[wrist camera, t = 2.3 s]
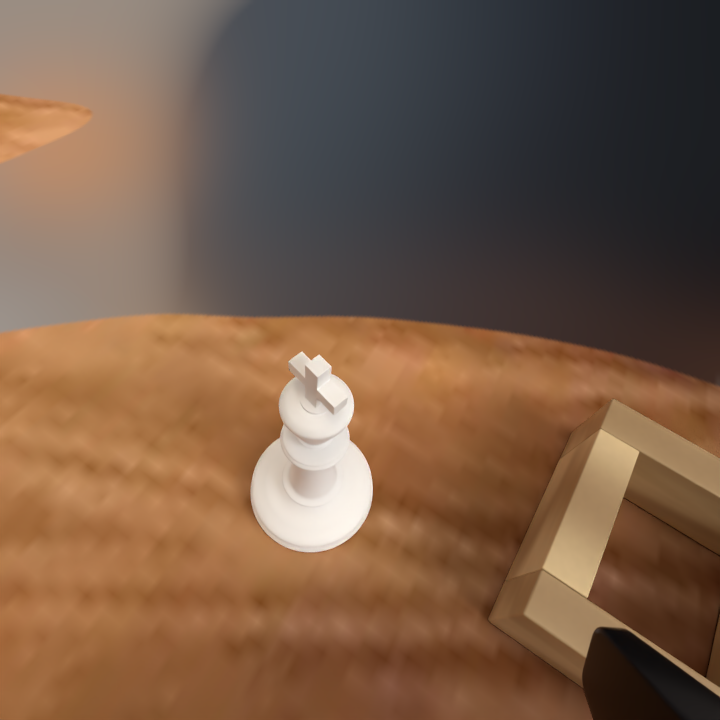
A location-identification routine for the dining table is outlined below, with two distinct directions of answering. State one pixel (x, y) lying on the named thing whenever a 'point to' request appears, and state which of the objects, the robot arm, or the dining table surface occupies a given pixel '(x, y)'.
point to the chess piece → (312, 465)
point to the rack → (603, 532)
